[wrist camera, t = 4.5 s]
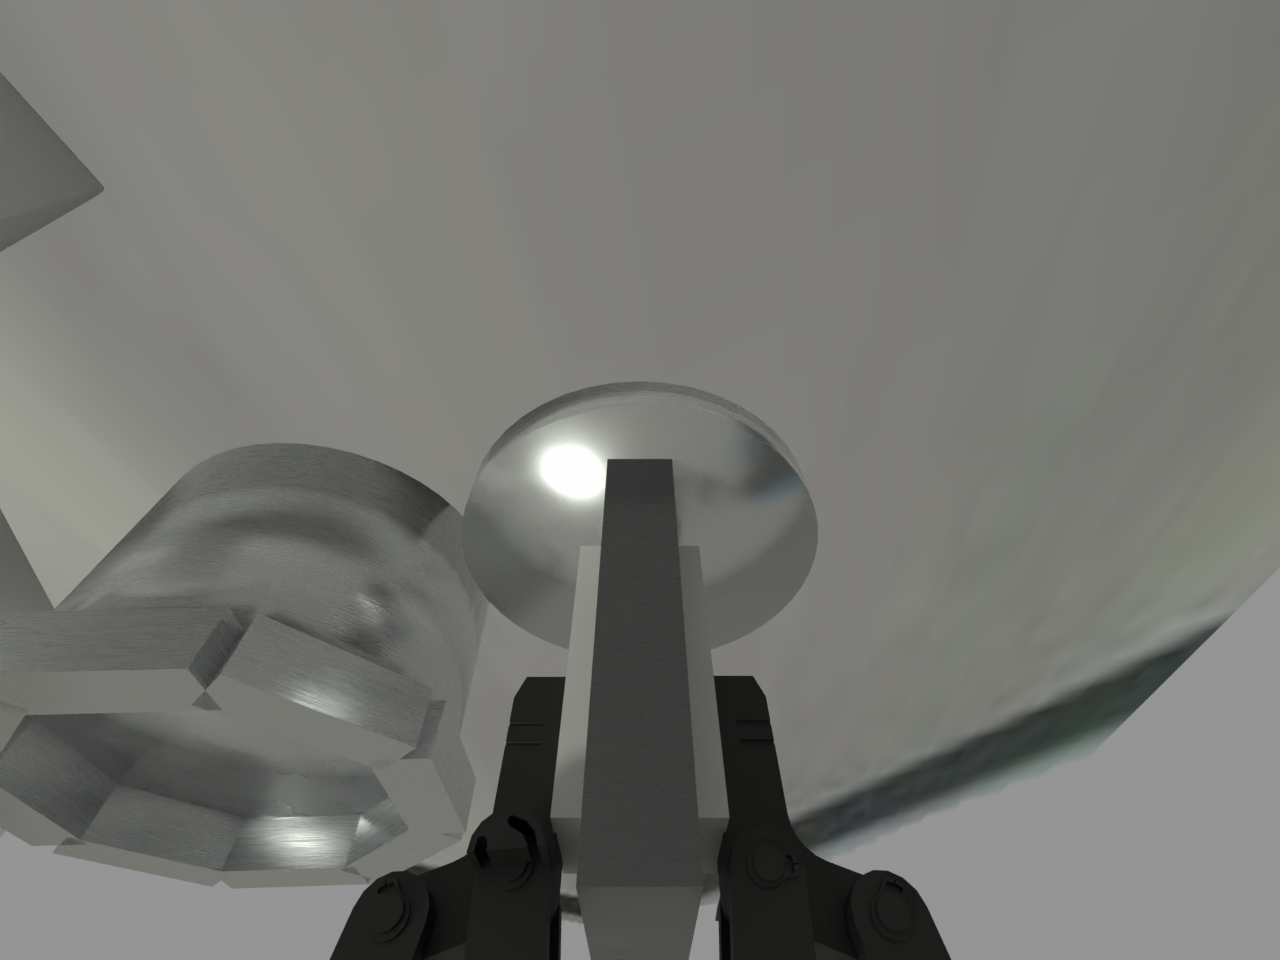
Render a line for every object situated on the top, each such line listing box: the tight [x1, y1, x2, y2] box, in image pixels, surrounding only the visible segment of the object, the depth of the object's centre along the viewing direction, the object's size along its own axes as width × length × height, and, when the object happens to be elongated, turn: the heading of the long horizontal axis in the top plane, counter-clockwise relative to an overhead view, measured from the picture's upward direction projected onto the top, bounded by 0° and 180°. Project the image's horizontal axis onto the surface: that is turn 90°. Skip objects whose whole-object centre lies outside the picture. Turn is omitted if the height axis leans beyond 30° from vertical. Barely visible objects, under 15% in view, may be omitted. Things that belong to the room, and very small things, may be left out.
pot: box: [0, 443, 489, 889], centre depth 26 cm, size 16×22×11 cm
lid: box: [462, 381, 818, 960], centre depth 13 cm, size 10×10×10 cm
